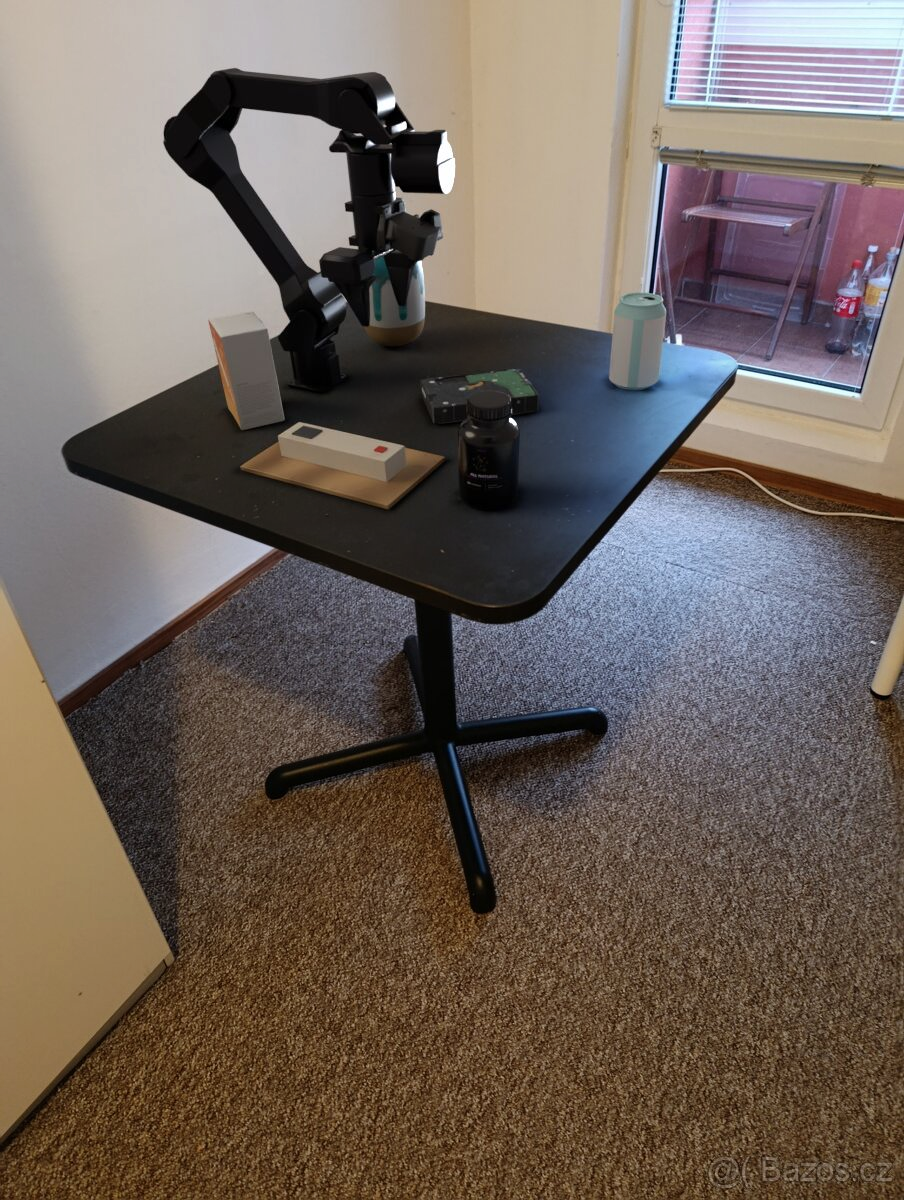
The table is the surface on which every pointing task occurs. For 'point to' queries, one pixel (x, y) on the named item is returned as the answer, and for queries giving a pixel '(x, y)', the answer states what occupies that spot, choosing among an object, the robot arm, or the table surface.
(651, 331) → the can
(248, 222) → the robot arm
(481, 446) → the supplement bottle
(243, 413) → the small box
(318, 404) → the table surface
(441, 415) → the disk drive
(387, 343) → the vase
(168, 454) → the table surface
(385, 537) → the table surface
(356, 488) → the cork mat
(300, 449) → the remote
